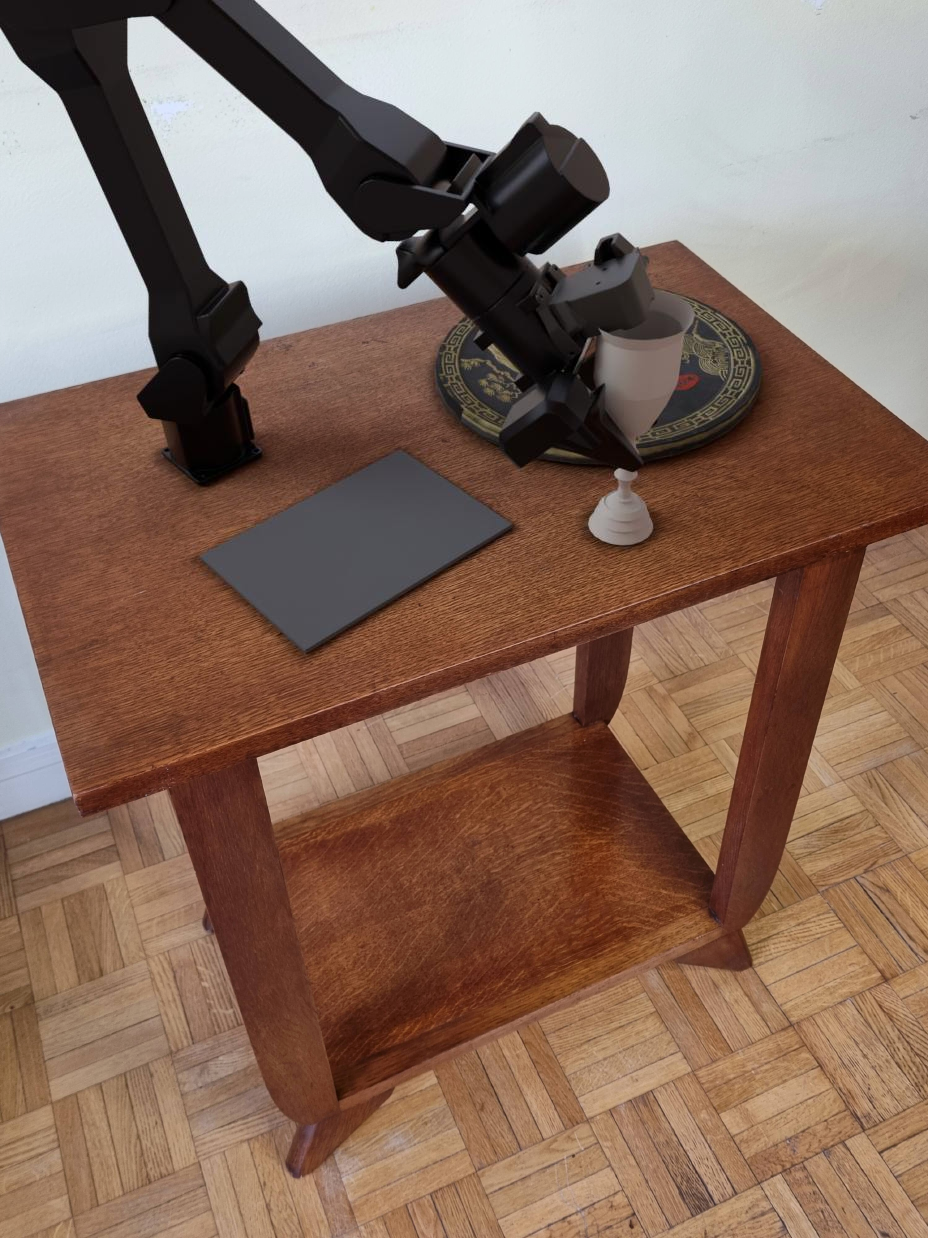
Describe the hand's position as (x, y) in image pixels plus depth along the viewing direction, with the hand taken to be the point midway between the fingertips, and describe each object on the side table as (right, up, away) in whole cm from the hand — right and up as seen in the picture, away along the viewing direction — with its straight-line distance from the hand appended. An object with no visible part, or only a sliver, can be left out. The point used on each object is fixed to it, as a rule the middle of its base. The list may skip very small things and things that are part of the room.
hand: (646, 446), depth 80 cm
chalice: (-1, -5, +6) cm, 8 cm away
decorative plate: (-1, +10, +21) cm, 24 cm away
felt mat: (-22, -7, +5) cm, 23 cm away
